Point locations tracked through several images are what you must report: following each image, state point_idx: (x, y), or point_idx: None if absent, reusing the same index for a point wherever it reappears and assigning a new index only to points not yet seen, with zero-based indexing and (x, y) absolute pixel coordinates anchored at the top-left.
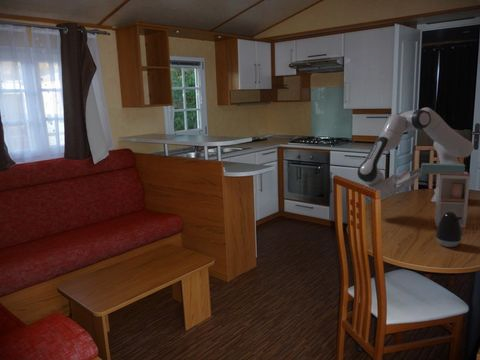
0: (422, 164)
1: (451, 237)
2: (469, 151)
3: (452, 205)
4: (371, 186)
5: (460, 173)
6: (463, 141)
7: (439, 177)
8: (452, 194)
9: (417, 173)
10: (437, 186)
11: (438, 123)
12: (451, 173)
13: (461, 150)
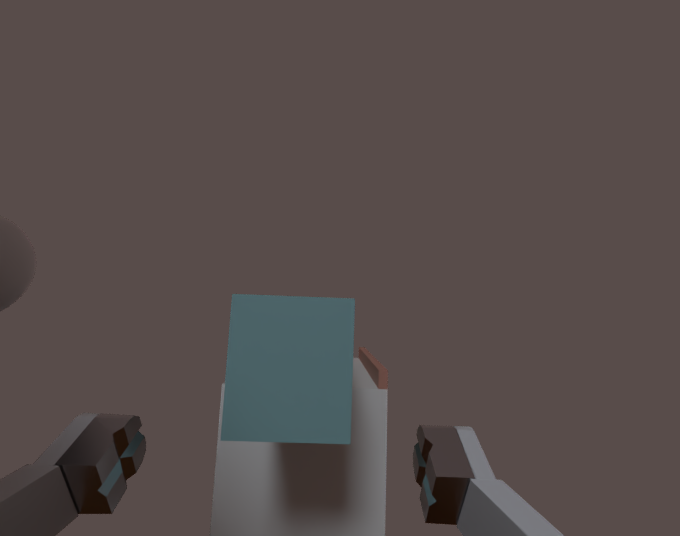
0: (342, 298)
1: None
2: (31, 281)
3: None
4: None
5: (363, 352)
6: (8, 223)
7: (375, 414)
8: None
9: (462, 457)
10: (254, 533)
11: None
12: (375, 358)
13: (9, 269)
